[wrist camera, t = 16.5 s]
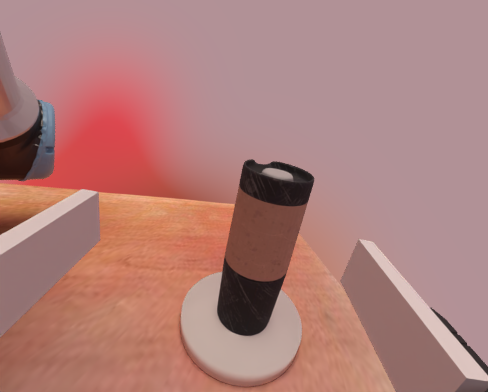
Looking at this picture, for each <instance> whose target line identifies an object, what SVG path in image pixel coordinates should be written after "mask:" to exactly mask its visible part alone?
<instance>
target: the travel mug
mask: <svg viewBox="0 0 488 392" xmlns="http://www.w3.org/2000/svg"><path fill="white" fill-rule="evenodd" d="M313 183H314V177H313V176H312V175H311V174H310V173H308V172H307V171H305V170H303V169H300V168H298V167H295V166H292V165H289V164H285V163H281V162H271V163H270V164H266V165H263V164H257V163H256V162H255V161H254V160H247V161H245V162H244V165H243V169H242V174H241V179H240V184H239V189H238V193H237V199H236V203H235V208H234V213H233V218H232V223H231V228H230V233H229V238H228V243H227V247H226V252H225V258H224V265H223V271H222V278H221V284H220V291H219V297H218V305H217V314H218V317H219V320H220V321H221V323H222V324H223V325H224V326H225V327H226V328H227V329H228V330H229V331H231V332H233V333H235V334H238V335H242V336H252V335H256V334H258V333H260V332H262V331H263V330H264V329H265V328H266V326H267V325H268V323H269V320H270V318H271V315H272V312H273V309H274V307H275V304H276V301H277V298H278V295H279V293H280V290H281V287H282V284H283V281H284V278H285V276H286V273H287V270H288V266H289V263H290V260H291V256H292V253H293V250H294V246H295V243H296V240H297V236H298V233H299V230H300V226H301V223H302V220H303V216H304V213H305V210H306V206H307V203H308V200H309V196H310V193H311V190H312V187H313Z"/></svg>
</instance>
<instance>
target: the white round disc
mask: <svg viewBox="0 0 488 392" xmlns="http://www.w3.org/2000/svg"><path fill="white" fill-rule="evenodd" d="M221 278H222V272H219V273H215V274H212V275H209V276H207V277H205V278H203V279H201V280H200V281H198V282H197V283H196V284H195V285H194V286H193V287H192V288H191V289H190V290H189V292H188V293H187V295H186V297H185V299H184V302H183V305H182V312H181V320H180V333H181V339H182V342H183V345H184V347H185V349H186V351H187V353H188V355H189V356H190V357H191V359H192V360H193V362H194V363H195V364H196V365H197V366H198V367H199V368H200V369H201V370H203V371H204V372H205V373H206V374H208V375H210V376H211V377H213V378H215V379H217V380H219V381H221V382H224V383H227V384H231V385H235V386H243V387H248V386H258V385H263V384H266V383H269V382H271V381H273V380H275V379H277V378H278V377H279V376H281V375H282V374H283V373H284V372H285V371H286V370H287V369H288V368H289V367H290V365H291V363H292V362H293V360H294V357H295V355H296V352H297V350H298V347H299V345H300V341H301V337H302V326H301V320H300V316H299V314H298V311H297V309H296V307H295V305H294V304H293V302H292V301H291V299H290V298H289V297H288V296H287V295H286V294H285V293H284V292H283V291H282V290H280V293H279V295H278V298H277V301H276V304H275V307H274V309H273V312H272V315H271V318H270V320H269V323H268V325H267V326H266V328H265V329H264V330H263V331H262V332H260V333H258V334H256V335H252V336H242V335H238V334H235V333H233V332H231V331H229V330H228V329H227V328H226V327H225V326H224V325H223V324H222V323H221V321H220V320H219V317H218V314H217V305H218V297H219V291H220V284H221Z"/></svg>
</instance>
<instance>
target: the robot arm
mask: <svg viewBox="0 0 488 392" xmlns="http://www.w3.org/2000/svg"><path fill="white" fill-rule="evenodd" d="M54 147H55V114H54V108H53V106H52V105H51V104H50V103H47V102H43V101H42V100H37V99H36V96H35V94H34V93H33V92H32V90H31V89H30V88H29V87H28V86H27V85H26V84H25V83H24V82H23V81H21V80H20V79H18V78H17V77H15V76H14V74H13V71H12V68H11V65H10V62H9V58H8V55H7V52H6V49H5V46H4V43H3V39H2V36H1V33H0V180H19V181H26V180H30V179H44V178H47V177H49V176H50V175H51V174H52V173H53V169H54ZM99 241H100V221H99V193H98V192H95V191H90V190H84V189H81V190H80V191H78V192H76V193H74V194H73V195H71V196H69V197H67V198H65V199H64V200H62V201H60V202H58V203H57V204H55V205H53V206H51V207H49V208H48V209H46V210H44V211H42V212H40V213H39V214H37V215H35V216H33V217H32V218H30V219H28V220H26V221H24V222H23V223H21V224H19V225H17V226H16V227H14V228H12V229H10V230H8V231H7V232H5V233H3V234H1V235H0V337H1V336H2V335H4V334H5V333H6V332H7V331H8V330H9V329H10V328H11V327H12V326H13V325H14V324H15V323H16V322H17V321H18V320H19V319H20V318H21V317H22V316H23V315H24V314H25V313H26V312H27V311H28V310H29V309H30V308H31V307H32V306H33V305H34V304H35V303H36V302H37V301H38V300H39V299H40V298H41V297H42V296H43V295H44V294H46V293H47V292H48V291H49V290H50V289H51V288H52V287H53V286H54V285H55V284H56V283H57V282H58V281H59V280H60V279H61V278H62V277H63V276H64V275H65V274H66V273H67V272H68V271H69V270H70V269H71V268H72V267H73V266H74V265H75V264H76V263H77V262H78V261H79V260H80V259H81V258H82V257H83V256H84V255H85V254H86V253H88V252H89V251H90V250H91V249H92V248H93V247H94V246H95V245H96V244H97V243H98V242H99ZM341 283H342V285H343V287H344V289H345V291H346V293H347V295H348V297H349V299H350V301H351V303H352V305H353V307H354V309H355V311H356V313H357V315H358V317H359V319H360V321H361V323H362V325H363V327H364V329H365V331H366V333H367V335H368V337H369V339H370V341H371V343H372V345H373V347H374V349H375V351H376V353H377V355H378V357H379V359H380V361H381V363H382V365H383V367H384V369H385V371H386V373H387V375H388V377H389V379H390V381H391V383H392V385H393V387H394V389H395V391H396V392H488V367H487V365H486V364H485V363H484V362H483V361H482V360H481V359H480V357H479V356H478V355H477V354H476V353H475V352H474V351H473V350H472V349H471V347H470V346H467V343H466V342H465V341H464V339H463V338H462V337H461V336H460V335H458V334H457V332H456V330H455V329H454V328H453V327H452V326H451V325H450V324H449V323H448V321H447V320H446V319H445V318H443V317H442V316H441V315H440V314H438V313H437V312H436V311H435V310H433V309H432V308H429V307H428V305H427V304H426V303H425V302H424V301H423V300H422V298H421V297H420V296H419V295H418V294H417V293H416V292H415V290H414V289H413V288H412V287H411V286H410V284H409V283H408V282H407V281H406V280H405V279H404V277H403V276H402V275H401V274H400V273H399V272H398V271H397V269H396V268H395V267H394V266H393V265H392V264H391V262H390V261H389V260H388V259H387V258H386V257H385V255H384V254H383V253H382V252H381V251H380V250H379V248H378V247H377V246H376V245H375V244H374V243H373V242H371V241H365V240H360V239H359V240H358V242H357V244H356V246H355V249H354V251H353V253H352V256H351V258H350V260H349V262H348V265H347V267H346V269H345V272H344V274H343V276H342V278H341Z"/></svg>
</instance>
